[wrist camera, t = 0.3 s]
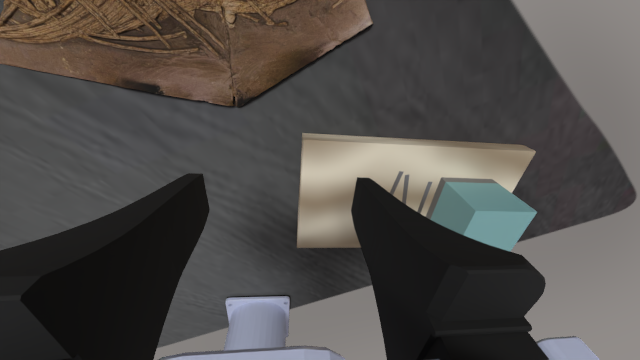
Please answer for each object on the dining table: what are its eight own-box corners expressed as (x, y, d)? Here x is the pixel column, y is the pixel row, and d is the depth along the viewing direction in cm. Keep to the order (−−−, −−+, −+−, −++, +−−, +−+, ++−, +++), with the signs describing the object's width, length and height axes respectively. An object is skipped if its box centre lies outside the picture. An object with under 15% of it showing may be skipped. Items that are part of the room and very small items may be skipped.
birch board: (471, 237, 29) (480, 247, 28) (296, 237, 27) (296, 248, 25) (522, 145, 23) (536, 151, 22) (302, 133, 20) (302, 139, 19)
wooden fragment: (378, -99, 14) (384, -108, 13) (367, 96, 20) (370, 99, 19) (-103, -90, 13) (-134, -99, 12) (33, 117, 18) (20, 121, 18)
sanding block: (460, 240, 27) (491, 279, 23) (416, 240, 26) (439, 280, 22) (492, 179, 23) (537, 212, 19) (441, 177, 22) (476, 211, 18)
